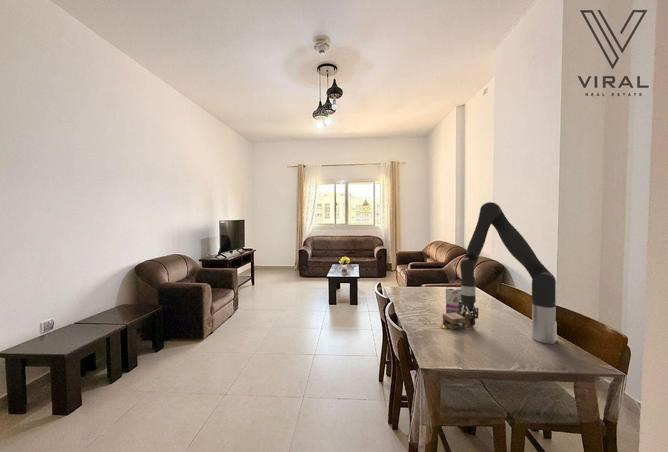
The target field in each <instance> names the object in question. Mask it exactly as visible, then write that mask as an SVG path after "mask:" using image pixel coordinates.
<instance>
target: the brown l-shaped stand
mask: <svg viewBox="0 0 668 452" xmlns="http://www.w3.org/2000/svg"><path fill="white" fill-rule="evenodd" d="M472 316H473V314H472ZM465 318H466V327H473V326H474V325H470V315H469V314H468V313H466V314H465ZM445 325H447V326H448V329H451V324H445ZM457 328H462V323H455V324H454V329H457Z"/></svg>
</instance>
